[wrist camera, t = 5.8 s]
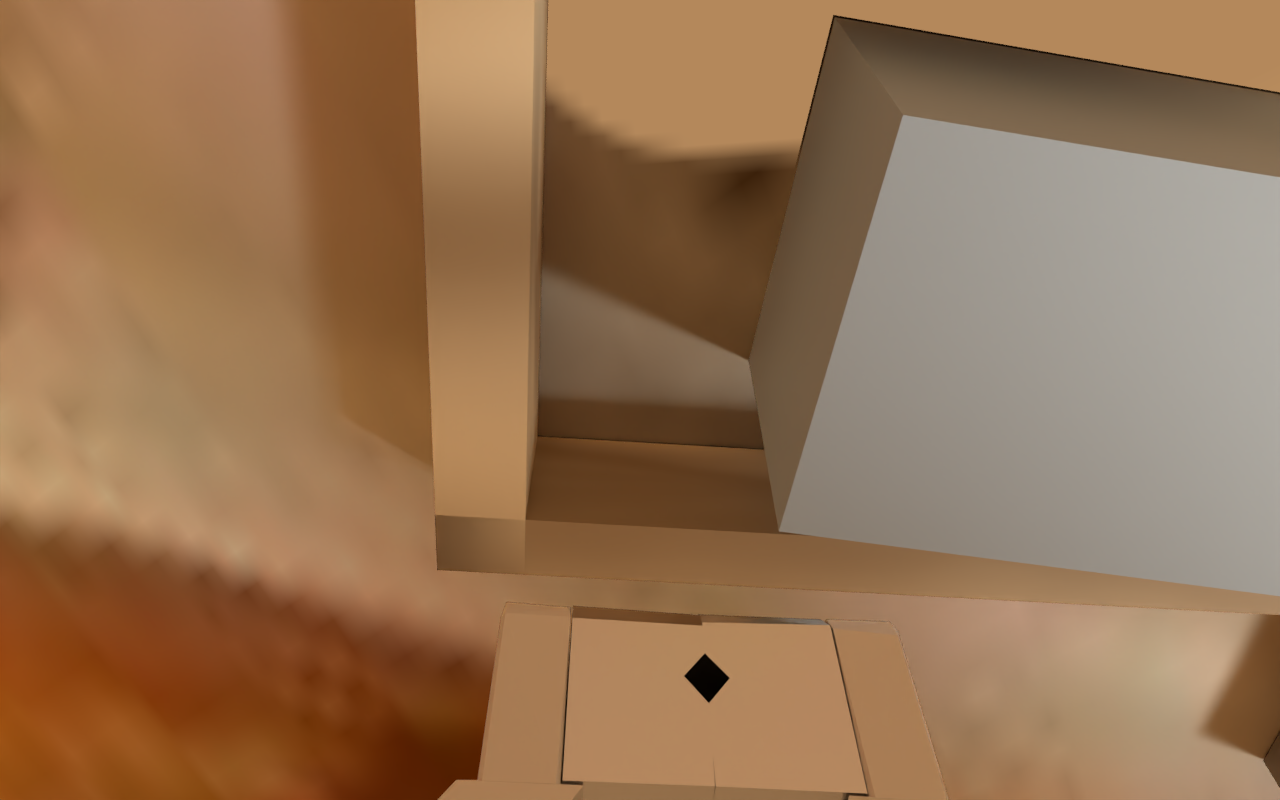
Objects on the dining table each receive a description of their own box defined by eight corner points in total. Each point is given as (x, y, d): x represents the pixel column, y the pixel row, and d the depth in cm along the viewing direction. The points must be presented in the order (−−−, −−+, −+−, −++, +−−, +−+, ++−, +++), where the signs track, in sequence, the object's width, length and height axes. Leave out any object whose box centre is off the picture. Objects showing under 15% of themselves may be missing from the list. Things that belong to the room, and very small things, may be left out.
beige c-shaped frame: (1219, 526, 21) (1284, 615, 19) (458, 483, 20) (436, 569, 18) (1510, -107, 15) (1652, -81, 13) (442, -193, 14) (407, -181, 12)
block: (1165, 415, 20) (1308, 600, 16) (747, 355, 19) (779, 531, 15) (1326, 100, 17) (1558, 223, 13) (833, 14, 16) (903, 115, 12)
